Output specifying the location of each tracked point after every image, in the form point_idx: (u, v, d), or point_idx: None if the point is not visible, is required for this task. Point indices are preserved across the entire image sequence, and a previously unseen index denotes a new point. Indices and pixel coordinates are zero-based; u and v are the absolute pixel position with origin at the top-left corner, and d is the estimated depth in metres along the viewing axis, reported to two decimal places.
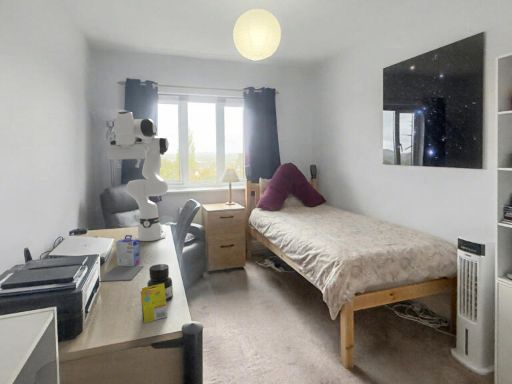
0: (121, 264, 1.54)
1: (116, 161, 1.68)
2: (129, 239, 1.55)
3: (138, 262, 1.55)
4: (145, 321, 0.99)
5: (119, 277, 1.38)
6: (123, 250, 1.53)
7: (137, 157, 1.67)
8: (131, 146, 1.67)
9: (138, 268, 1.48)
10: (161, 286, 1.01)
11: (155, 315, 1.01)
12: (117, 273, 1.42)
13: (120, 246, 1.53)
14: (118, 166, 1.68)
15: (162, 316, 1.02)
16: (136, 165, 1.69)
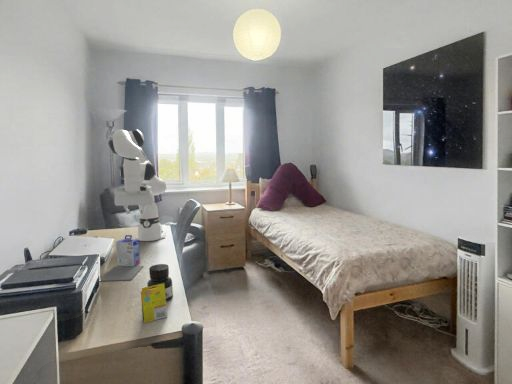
0: (121, 264, 1.54)
1: None
2: (129, 239, 1.55)
3: (138, 262, 1.55)
4: (145, 321, 0.99)
5: (119, 277, 1.38)
6: (123, 250, 1.53)
7: None
8: None
9: (138, 268, 1.48)
10: (161, 286, 1.01)
11: (155, 315, 1.01)
12: (117, 273, 1.42)
13: (120, 246, 1.53)
14: None
15: (162, 316, 1.02)
16: None
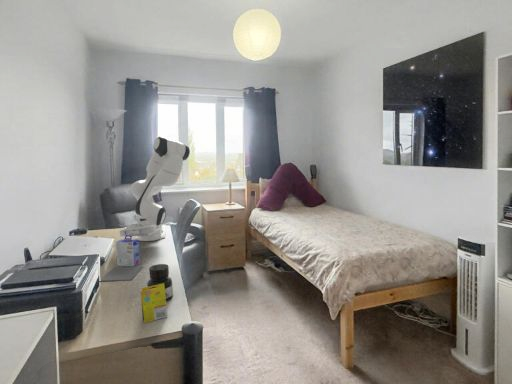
0: (121, 264, 1.54)
1: (131, 230, 1.69)
2: (129, 239, 1.55)
3: (138, 262, 1.55)
4: (145, 321, 0.99)
5: (119, 277, 1.38)
6: (123, 250, 1.53)
7: (145, 226, 1.70)
8: (146, 225, 1.76)
9: (138, 268, 1.48)
10: (161, 286, 1.01)
11: (155, 315, 1.01)
12: (117, 273, 1.42)
13: (120, 246, 1.53)
14: (129, 231, 1.67)
15: (162, 316, 1.02)
16: (132, 231, 1.67)
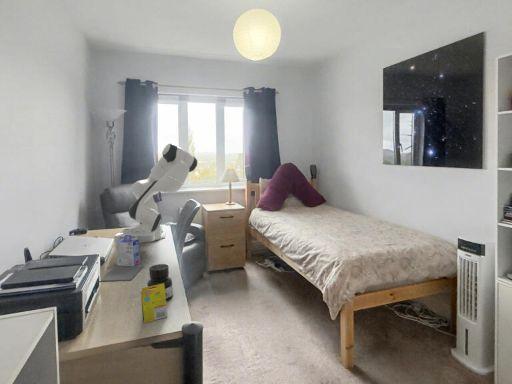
0: (121, 264, 1.53)
1: (129, 237, 1.61)
2: (129, 239, 1.54)
3: (138, 262, 1.55)
4: (145, 321, 0.99)
5: (119, 277, 1.38)
6: (123, 250, 1.52)
7: (144, 234, 1.63)
8: (143, 232, 1.69)
9: (138, 268, 1.48)
10: (161, 286, 1.01)
11: (155, 315, 1.01)
12: (117, 273, 1.42)
13: (120, 246, 1.53)
14: None
15: (162, 316, 1.02)
16: (132, 238, 1.59)
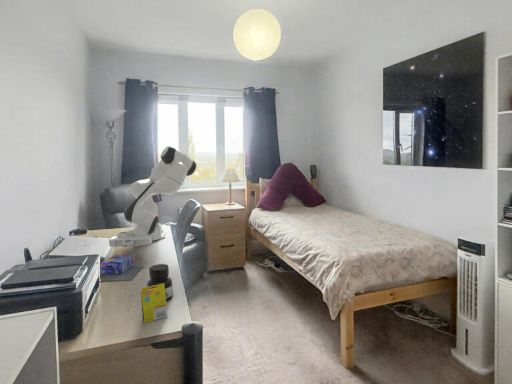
0: None
1: (124, 241, 1.54)
2: None
3: (133, 259, 1.51)
4: (145, 321, 0.99)
5: (119, 277, 1.38)
6: None
7: (140, 238, 1.56)
8: (139, 235, 1.62)
9: (138, 268, 1.48)
10: (161, 286, 1.01)
11: (155, 315, 1.01)
12: None
13: None
14: (123, 243, 1.51)
15: (162, 316, 1.02)
16: (127, 242, 1.51)
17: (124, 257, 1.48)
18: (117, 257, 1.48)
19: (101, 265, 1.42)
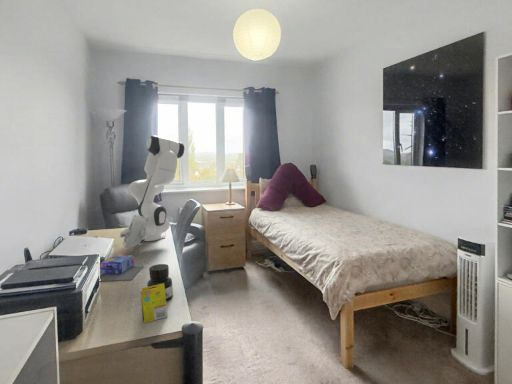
0: None
1: (125, 234, 1.70)
2: None
3: (133, 259, 1.51)
4: (145, 321, 0.99)
5: (119, 277, 1.38)
6: None
7: None
8: None
9: (138, 268, 1.48)
10: (161, 286, 1.01)
11: (155, 315, 1.01)
12: None
13: None
14: None
15: (162, 316, 1.02)
16: None
17: (124, 257, 1.48)
18: (117, 257, 1.48)
19: (101, 265, 1.42)
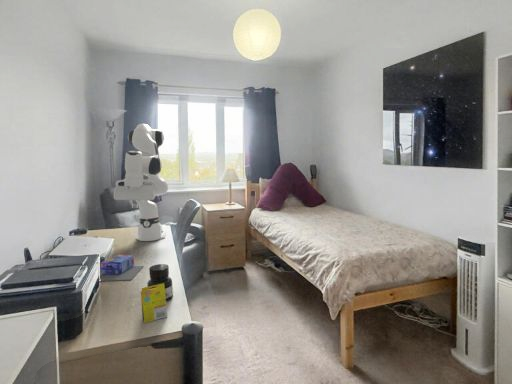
0: None
1: (131, 201, 1.64)
2: None
3: (133, 259, 1.51)
4: (145, 321, 0.99)
5: (119, 277, 1.38)
6: None
7: (145, 198, 1.65)
8: (140, 187, 1.63)
9: (138, 268, 1.48)
10: (161, 286, 1.01)
11: (155, 315, 1.01)
12: None
13: None
14: (132, 206, 1.65)
15: (162, 316, 1.02)
16: (136, 206, 1.65)
17: (124, 257, 1.48)
18: (117, 257, 1.48)
19: (101, 265, 1.42)
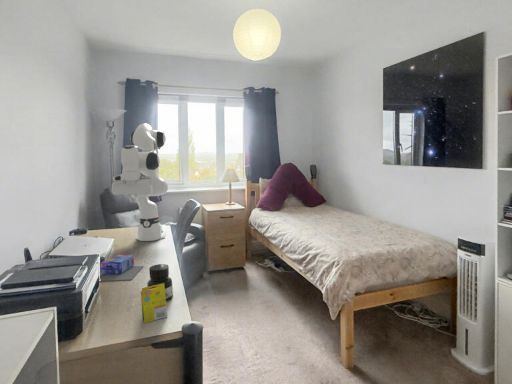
0: None
1: (129, 196, 1.63)
2: None
3: (133, 259, 1.51)
4: (145, 321, 0.99)
5: (119, 277, 1.38)
6: None
7: (142, 192, 1.62)
8: (136, 181, 1.62)
9: (138, 268, 1.48)
10: (161, 286, 1.01)
11: (155, 315, 1.01)
12: None
13: None
14: (131, 201, 1.64)
15: (162, 316, 1.02)
16: (134, 201, 1.64)
17: (124, 257, 1.48)
18: (117, 257, 1.48)
19: (101, 265, 1.42)
